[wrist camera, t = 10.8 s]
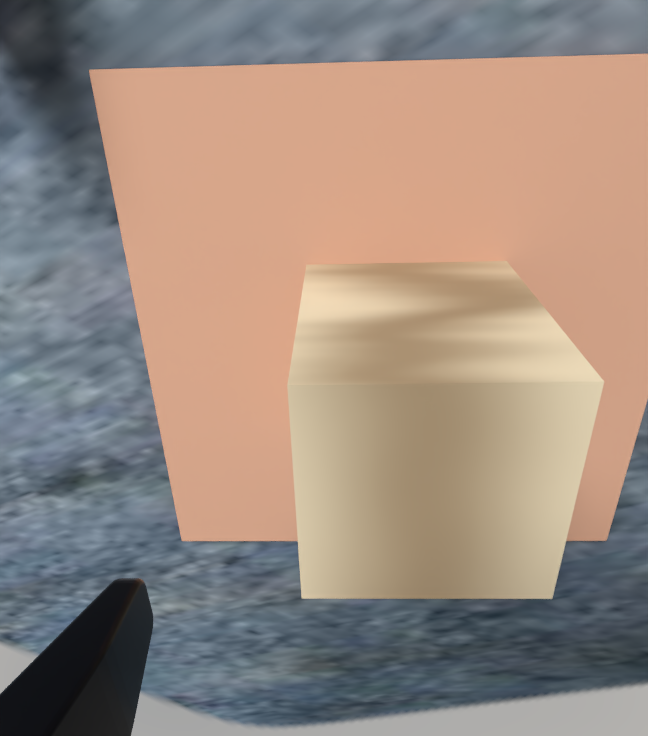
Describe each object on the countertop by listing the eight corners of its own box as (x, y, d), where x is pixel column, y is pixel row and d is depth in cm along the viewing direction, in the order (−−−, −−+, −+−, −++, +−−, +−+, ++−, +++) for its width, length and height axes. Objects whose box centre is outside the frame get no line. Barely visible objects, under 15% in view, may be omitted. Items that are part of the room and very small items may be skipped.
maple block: (506, 260, 14) (604, 381, 9) (485, 426, 17) (551, 598, 11) (306, 264, 14) (287, 385, 9) (313, 428, 17) (301, 598, 12)
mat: (736, 51, 12) (748, 51, 12) (601, 531, 19) (606, 540, 19) (95, 69, 13) (88, 69, 12) (184, 532, 19) (181, 541, 19)
